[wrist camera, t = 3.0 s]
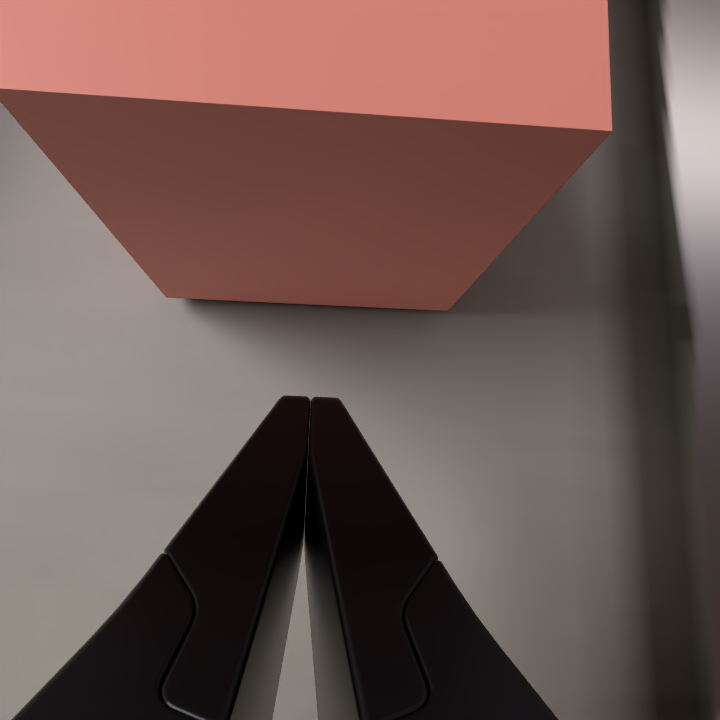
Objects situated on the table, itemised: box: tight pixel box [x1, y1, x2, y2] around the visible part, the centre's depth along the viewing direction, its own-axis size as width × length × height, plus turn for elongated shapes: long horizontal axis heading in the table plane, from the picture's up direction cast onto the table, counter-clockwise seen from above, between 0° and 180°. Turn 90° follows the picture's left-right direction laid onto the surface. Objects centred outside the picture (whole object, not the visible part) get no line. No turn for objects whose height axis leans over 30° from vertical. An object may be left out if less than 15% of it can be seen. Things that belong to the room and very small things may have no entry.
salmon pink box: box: [0, 0, 612, 311], centre depth 12 cm, size 9×7×9 cm
